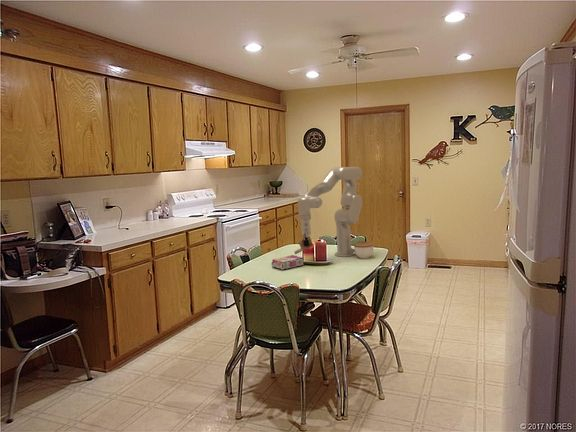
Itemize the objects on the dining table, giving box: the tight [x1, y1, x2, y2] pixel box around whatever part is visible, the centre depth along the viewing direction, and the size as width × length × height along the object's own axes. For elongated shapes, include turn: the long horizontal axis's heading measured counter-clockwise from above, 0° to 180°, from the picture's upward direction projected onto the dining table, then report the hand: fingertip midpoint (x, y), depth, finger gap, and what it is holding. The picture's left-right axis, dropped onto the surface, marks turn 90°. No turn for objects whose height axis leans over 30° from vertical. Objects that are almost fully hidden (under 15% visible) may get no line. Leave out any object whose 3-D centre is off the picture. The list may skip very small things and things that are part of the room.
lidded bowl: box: [353, 240, 374, 260], centre depth 294 cm, size 13×13×11 cm
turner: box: [293, 236, 314, 255], centre depth 286 cm, size 13×5×6 cm, turn 93°
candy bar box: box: [271, 255, 305, 270], centre depth 280 cm, size 11×5×16 cm
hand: (306, 245), depth 286 cm, fingers closed on turner, 2 cm apart
